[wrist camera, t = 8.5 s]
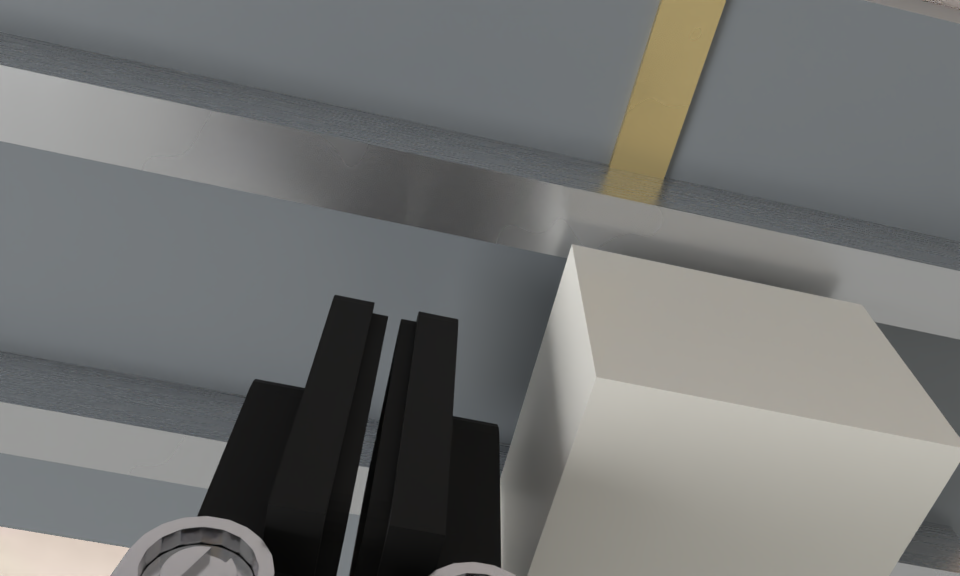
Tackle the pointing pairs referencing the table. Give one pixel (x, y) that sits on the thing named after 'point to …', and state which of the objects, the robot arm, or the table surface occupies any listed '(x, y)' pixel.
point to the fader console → (432, 205)
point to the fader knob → (715, 432)
